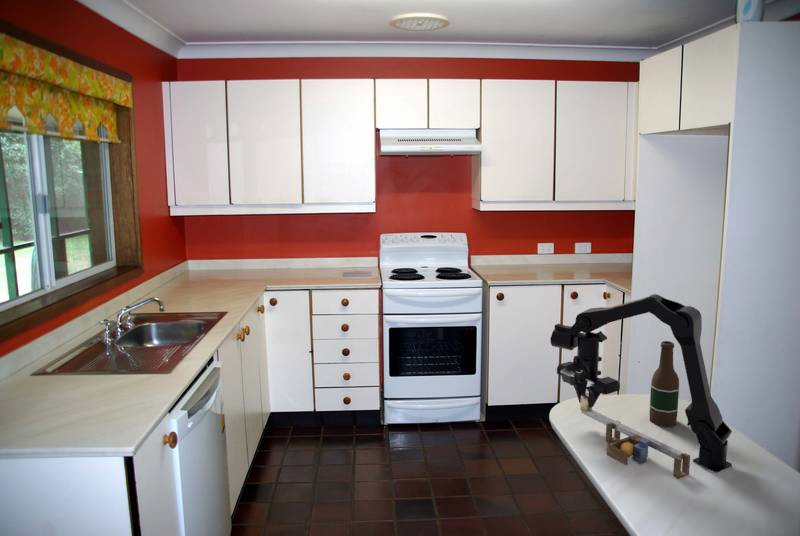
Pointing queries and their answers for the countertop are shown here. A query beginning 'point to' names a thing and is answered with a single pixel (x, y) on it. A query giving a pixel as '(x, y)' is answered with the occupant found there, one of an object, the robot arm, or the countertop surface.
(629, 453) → the ball
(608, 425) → the block
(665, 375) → the beer bottle
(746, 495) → the countertop surface
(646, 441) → the rod
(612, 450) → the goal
